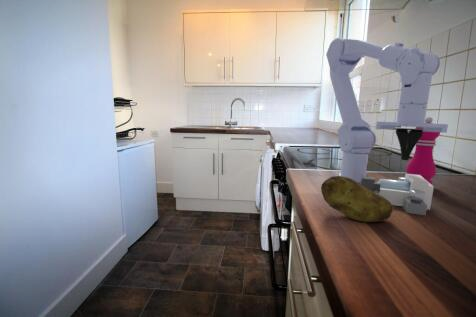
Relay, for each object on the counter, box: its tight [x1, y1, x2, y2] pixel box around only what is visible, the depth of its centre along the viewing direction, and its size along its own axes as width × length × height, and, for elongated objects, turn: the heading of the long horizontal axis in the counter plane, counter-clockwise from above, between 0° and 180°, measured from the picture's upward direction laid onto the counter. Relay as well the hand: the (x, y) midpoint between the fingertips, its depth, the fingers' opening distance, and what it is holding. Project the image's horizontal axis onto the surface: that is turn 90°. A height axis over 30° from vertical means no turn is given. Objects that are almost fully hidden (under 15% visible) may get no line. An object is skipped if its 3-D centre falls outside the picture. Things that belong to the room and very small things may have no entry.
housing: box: [374, 173, 435, 216], centre depth 61 cm, size 15×10×6 cm, turn 158°
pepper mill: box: [405, 116, 441, 185], centre depth 74 cm, size 7×7×20 cm
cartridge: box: [359, 175, 411, 194], centre depth 62 cm, size 4×12×5 cm, turn 68°
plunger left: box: [397, 176, 405, 181], centre depth 66 cm, size 3×3×4 cm
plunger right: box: [408, 190, 425, 203], centre depth 55 cm, size 3×3×4 cm
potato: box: [320, 175, 393, 223], centre depth 51 cm, size 8×13×8 cm, turn 52°
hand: (404, 159), depth 65 cm, fingers closed
